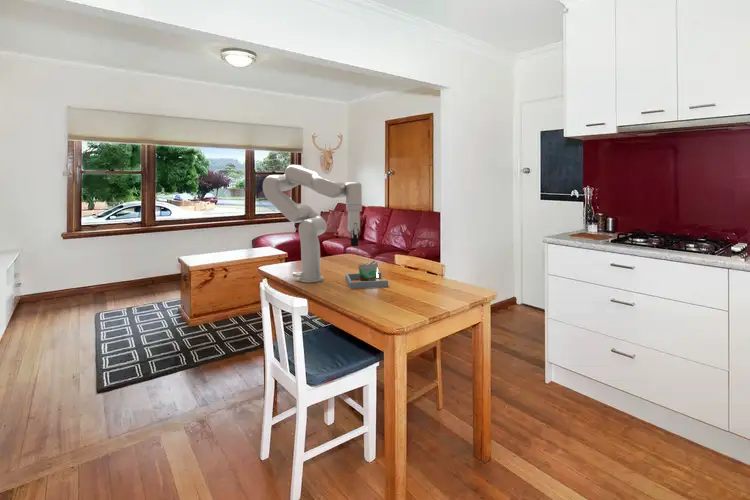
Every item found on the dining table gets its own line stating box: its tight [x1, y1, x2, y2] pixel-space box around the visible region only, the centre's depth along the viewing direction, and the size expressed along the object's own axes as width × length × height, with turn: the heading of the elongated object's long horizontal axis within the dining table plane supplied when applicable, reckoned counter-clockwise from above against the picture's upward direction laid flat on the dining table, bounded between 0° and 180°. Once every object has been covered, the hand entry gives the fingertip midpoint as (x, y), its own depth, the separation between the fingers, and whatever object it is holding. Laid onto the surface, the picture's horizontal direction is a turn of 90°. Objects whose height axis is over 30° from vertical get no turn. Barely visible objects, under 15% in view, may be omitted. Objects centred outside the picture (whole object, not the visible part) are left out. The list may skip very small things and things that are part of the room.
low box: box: [344, 271, 389, 290], centre depth 209 cm, size 19×18×3 cm
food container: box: [357, 260, 379, 282], centre depth 209 cm, size 12×6×10 cm, turn 143°
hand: (354, 245), depth 205 cm, fingers closed
